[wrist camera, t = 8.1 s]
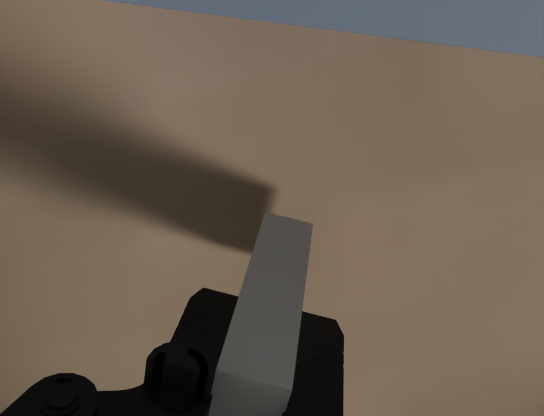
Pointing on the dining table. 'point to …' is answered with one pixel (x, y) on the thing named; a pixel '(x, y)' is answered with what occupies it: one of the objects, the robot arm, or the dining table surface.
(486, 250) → the dining table surface
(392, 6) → the slate block
